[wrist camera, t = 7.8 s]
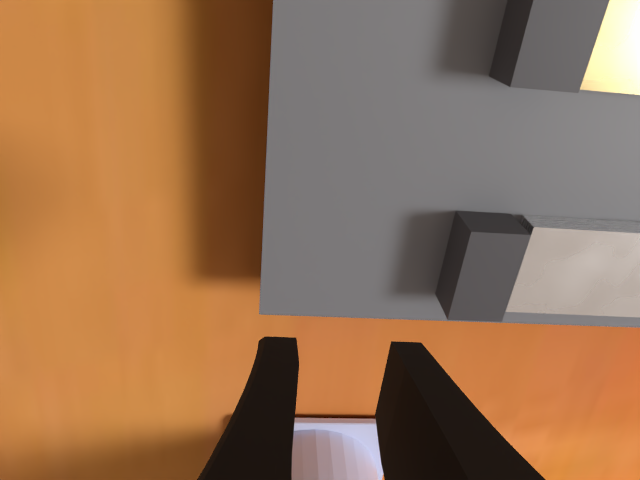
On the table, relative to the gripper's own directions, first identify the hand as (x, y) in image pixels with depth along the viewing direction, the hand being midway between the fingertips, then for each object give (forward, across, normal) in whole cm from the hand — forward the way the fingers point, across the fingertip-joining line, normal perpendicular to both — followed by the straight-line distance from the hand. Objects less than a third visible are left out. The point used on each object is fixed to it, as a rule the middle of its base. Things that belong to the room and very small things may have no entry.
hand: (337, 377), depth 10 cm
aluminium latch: (+8, -13, +1) cm, 15 cm away
